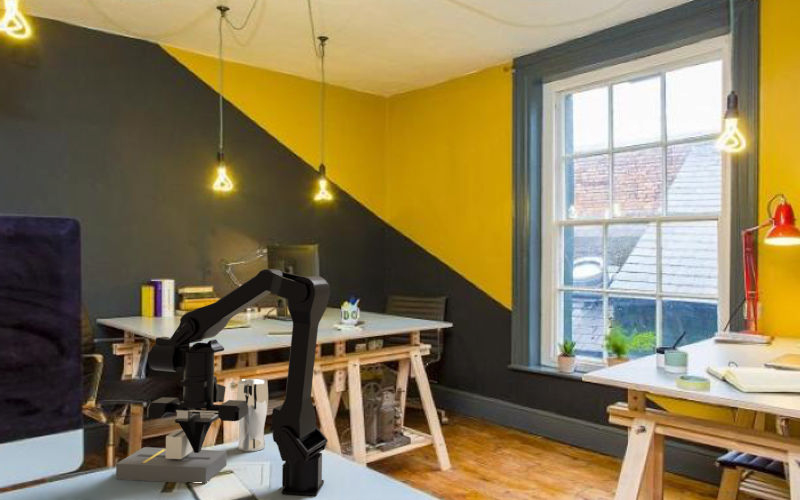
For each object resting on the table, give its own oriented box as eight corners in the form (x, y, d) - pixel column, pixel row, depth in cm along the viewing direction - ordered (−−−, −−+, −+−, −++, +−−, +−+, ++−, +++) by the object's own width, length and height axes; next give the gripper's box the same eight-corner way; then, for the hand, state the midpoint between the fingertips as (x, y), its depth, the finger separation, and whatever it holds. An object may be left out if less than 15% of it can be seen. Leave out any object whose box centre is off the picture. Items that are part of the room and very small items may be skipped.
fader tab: (192, 451, 119) (192, 429, 119) (181, 459, 114) (181, 436, 114) (177, 450, 119) (177, 428, 119) (165, 458, 114) (165, 435, 114)
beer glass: (256, 440, 137) (257, 376, 137) (273, 447, 132) (274, 381, 133) (229, 447, 132) (231, 381, 132) (246, 454, 127) (247, 385, 128)
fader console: (226, 465, 120) (226, 450, 120) (205, 483, 110) (205, 467, 111) (143, 461, 122) (144, 446, 122) (116, 479, 112) (116, 463, 112)
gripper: (258, 368, 123) (256, 442, 123) (174, 365, 125) (172, 438, 125) (238, 378, 112) (236, 459, 112) (146, 375, 114) (144, 455, 114)
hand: (197, 452), depth 116 cm, fingers closed
